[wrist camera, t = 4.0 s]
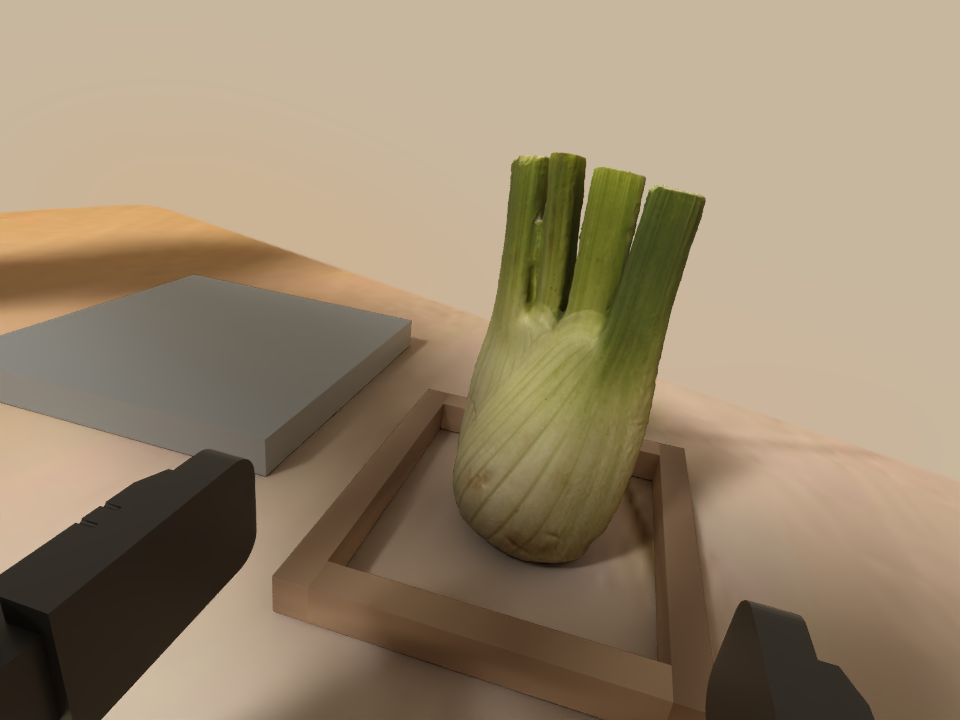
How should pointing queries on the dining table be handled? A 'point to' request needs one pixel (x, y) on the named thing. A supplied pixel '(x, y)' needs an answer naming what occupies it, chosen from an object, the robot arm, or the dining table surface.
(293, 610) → the walnut collar
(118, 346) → the slate board
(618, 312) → the fennel bulb
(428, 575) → the dining table surface
